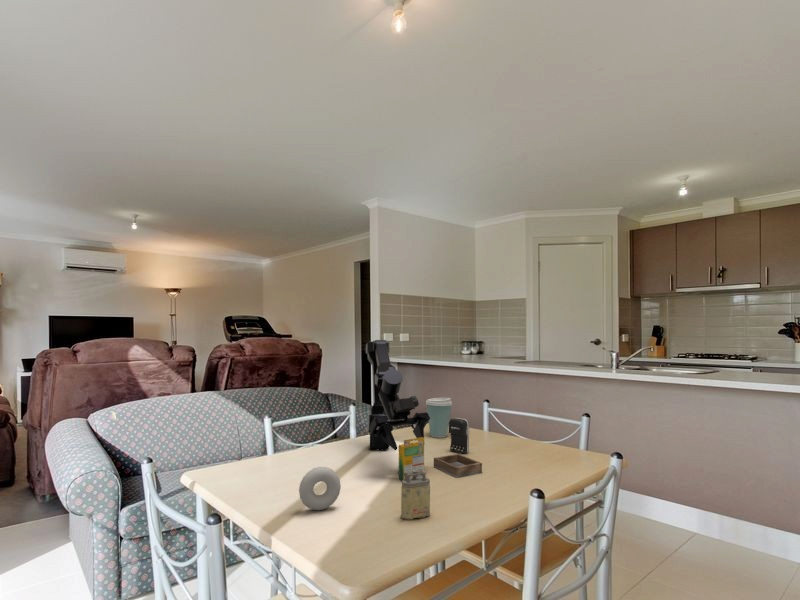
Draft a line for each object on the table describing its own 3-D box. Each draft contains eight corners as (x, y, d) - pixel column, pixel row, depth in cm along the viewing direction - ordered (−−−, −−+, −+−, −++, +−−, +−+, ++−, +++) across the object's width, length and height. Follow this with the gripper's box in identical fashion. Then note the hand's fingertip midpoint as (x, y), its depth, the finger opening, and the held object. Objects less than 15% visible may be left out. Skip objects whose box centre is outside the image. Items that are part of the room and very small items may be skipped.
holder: (456, 477, 134) (456, 467, 134) (433, 466, 144) (433, 457, 144) (482, 472, 138) (481, 463, 139) (458, 462, 149) (458, 453, 149)
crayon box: (418, 474, 136) (419, 434, 137) (424, 477, 134) (425, 436, 134) (397, 479, 132) (398, 437, 133) (403, 482, 130) (404, 440, 130)
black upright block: (446, 451, 162) (447, 418, 162) (453, 449, 165) (453, 416, 165) (463, 455, 157) (463, 421, 158) (469, 453, 160) (469, 419, 160)
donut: (338, 504, 113) (338, 462, 114) (342, 509, 110) (342, 466, 111) (297, 510, 110) (298, 467, 110) (300, 515, 106) (300, 471, 107)
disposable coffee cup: (423, 438, 180) (423, 399, 181) (427, 432, 190) (428, 395, 191) (450, 440, 177) (450, 400, 178) (453, 433, 188) (453, 396, 189)
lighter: (426, 510, 110) (426, 468, 110) (433, 517, 106) (433, 472, 107) (398, 515, 107) (398, 471, 108) (404, 521, 104) (405, 476, 104)
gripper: (373, 389, 135) (391, 435, 125) (427, 385, 144) (447, 428, 134) (361, 412, 141) (378, 457, 131) (413, 407, 151) (432, 449, 140)
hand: (410, 447), depth 134 cm, fingers open, 9 cm apart
